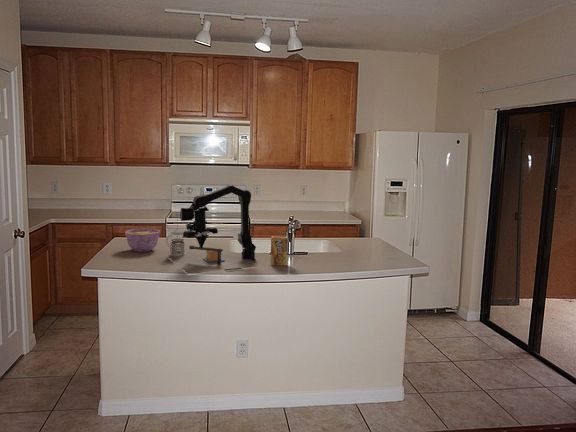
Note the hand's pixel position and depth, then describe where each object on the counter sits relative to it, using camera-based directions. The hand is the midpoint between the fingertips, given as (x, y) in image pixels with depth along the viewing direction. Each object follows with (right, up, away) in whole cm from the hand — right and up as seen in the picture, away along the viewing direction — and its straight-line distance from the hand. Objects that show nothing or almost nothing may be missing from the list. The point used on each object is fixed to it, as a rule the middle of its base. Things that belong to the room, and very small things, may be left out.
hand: (201, 248), depth 268 cm
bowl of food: (-40, -4, +28) cm, 49 cm away
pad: (+17, -10, -9) cm, 22 cm away
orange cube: (+6, -7, +4) cm, 10 cm away
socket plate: (+7, -8, +2) cm, 11 cm away
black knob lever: (+3, -7, -1) cm, 8 cm away
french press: (-17, -6, +16) cm, 24 cm away
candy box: (+42, -9, +3) cm, 43 cm away
